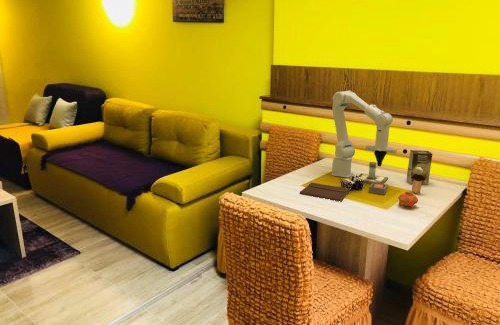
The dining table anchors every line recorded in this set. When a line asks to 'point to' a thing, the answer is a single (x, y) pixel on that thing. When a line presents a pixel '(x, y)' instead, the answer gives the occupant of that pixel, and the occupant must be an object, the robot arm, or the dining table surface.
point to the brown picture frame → (377, 179)
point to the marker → (372, 170)
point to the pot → (408, 199)
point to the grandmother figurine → (417, 181)
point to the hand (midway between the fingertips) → (379, 165)
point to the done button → (378, 185)
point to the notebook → (325, 191)
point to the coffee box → (419, 164)
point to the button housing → (378, 189)
